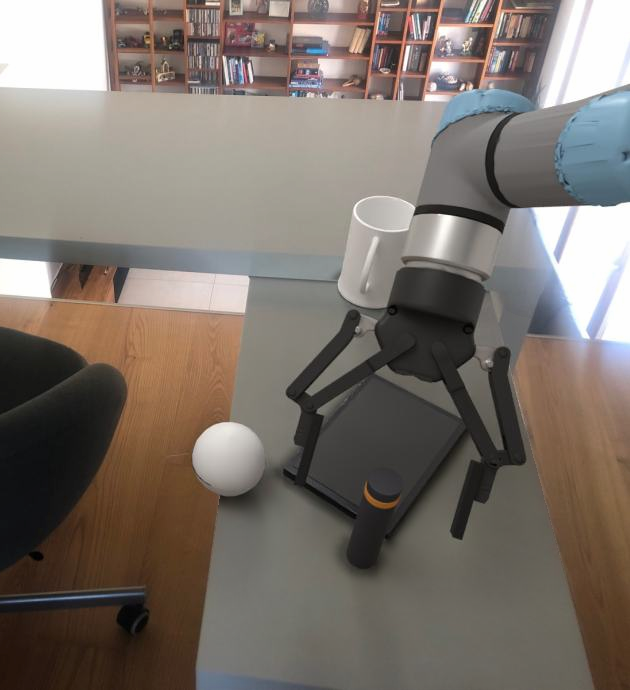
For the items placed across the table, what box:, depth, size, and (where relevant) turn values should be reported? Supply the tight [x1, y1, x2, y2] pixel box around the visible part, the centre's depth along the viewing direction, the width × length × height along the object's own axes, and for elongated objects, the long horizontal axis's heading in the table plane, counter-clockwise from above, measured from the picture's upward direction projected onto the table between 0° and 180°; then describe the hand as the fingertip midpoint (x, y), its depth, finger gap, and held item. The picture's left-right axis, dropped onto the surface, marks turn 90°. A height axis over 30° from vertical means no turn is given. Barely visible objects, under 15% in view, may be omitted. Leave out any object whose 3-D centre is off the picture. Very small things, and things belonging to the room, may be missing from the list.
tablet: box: [282, 372, 467, 540], centre depth 74 cm, size 12×18×1 cm, turn 139°
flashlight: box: [345, 467, 403, 570], centre depth 61 cm, size 3×3×12 cm
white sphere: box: [165, 421, 267, 497], centre depth 69 cm, size 10×7×7 cm
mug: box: [337, 195, 415, 310], centre depth 88 cm, size 12×8×12 cm
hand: (374, 509), depth 61 cm, fingers open, 13 cm apart
